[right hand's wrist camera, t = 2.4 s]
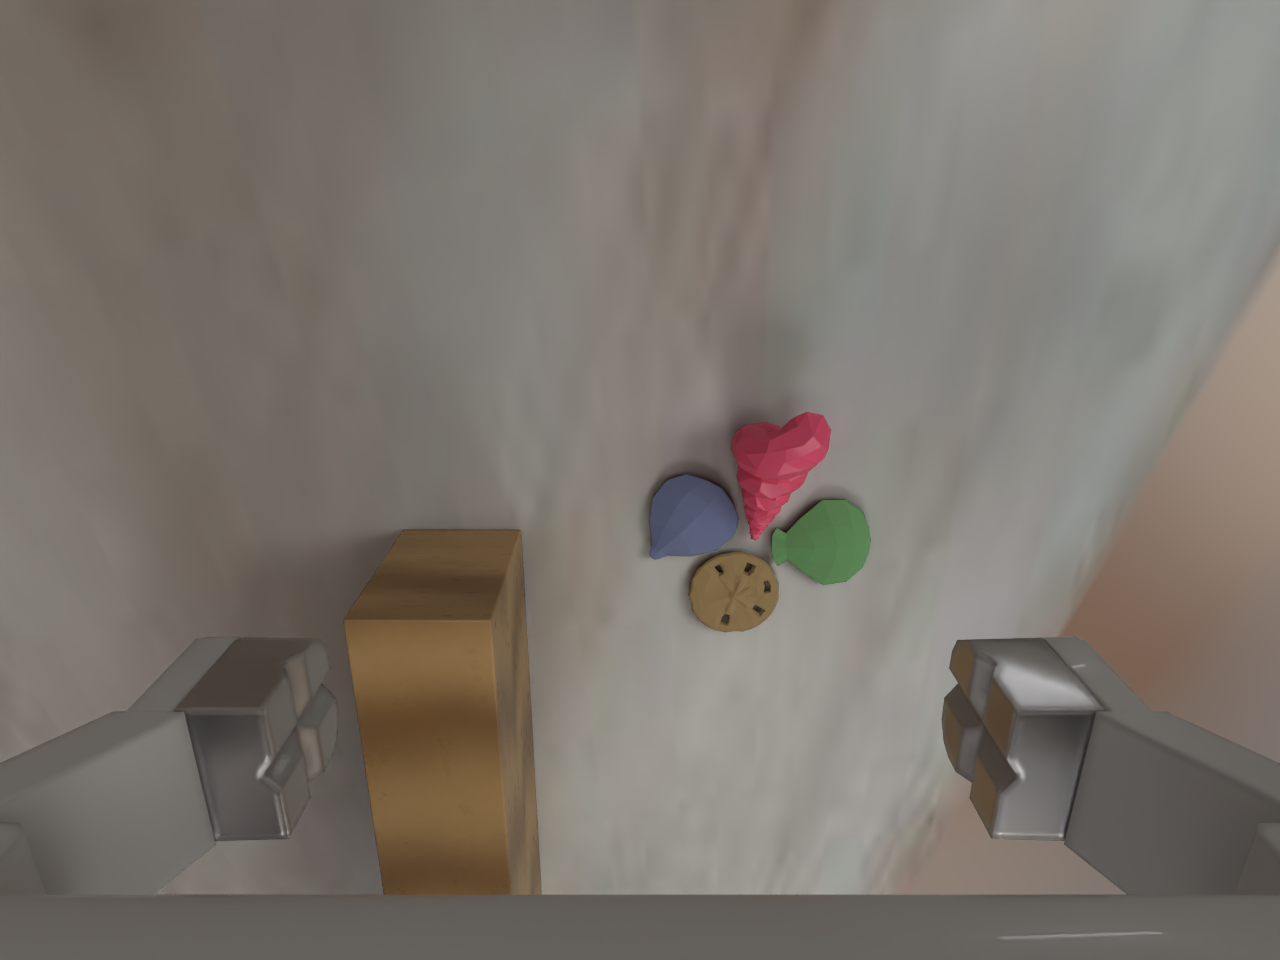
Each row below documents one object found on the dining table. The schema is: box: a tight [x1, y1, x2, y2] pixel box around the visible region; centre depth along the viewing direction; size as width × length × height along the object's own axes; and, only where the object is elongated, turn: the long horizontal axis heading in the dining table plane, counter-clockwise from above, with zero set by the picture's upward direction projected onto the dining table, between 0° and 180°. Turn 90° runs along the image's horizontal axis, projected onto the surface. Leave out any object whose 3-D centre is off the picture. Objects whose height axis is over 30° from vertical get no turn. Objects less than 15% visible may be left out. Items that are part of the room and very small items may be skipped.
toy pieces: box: [650, 412, 871, 632], centre depth 39 cm, size 12×11×4 cm
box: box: [343, 530, 542, 895], centre depth 42 cm, size 27×6×9 cm, turn 0°
